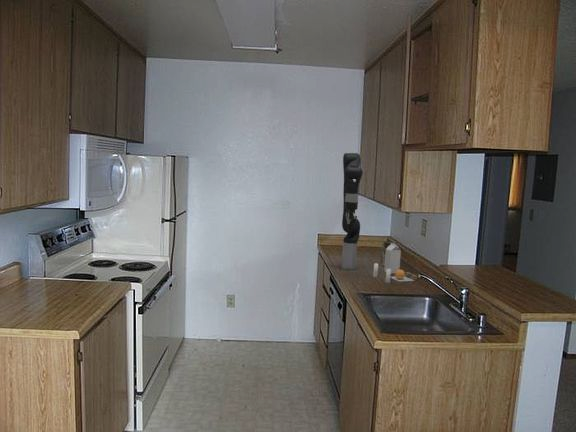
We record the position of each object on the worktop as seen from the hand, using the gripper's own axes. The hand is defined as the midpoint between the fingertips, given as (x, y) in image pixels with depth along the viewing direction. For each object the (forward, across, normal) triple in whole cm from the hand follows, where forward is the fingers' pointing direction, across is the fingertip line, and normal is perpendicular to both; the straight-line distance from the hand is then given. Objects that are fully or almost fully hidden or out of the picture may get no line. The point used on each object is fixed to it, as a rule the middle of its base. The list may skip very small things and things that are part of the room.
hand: (349, 230), depth 285 cm
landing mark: (+29, +5, +35) cm, 46 cm away
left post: (+29, -2, +21) cm, 36 cm away
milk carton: (+29, -12, +38) cm, 49 cm away
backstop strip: (+29, +5, +42) cm, 51 cm away
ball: (+26, +6, +33) cm, 43 cm away
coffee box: (+29, -32, +47) cm, 64 cm away
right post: (+29, +12, +21) cm, 38 cm away
